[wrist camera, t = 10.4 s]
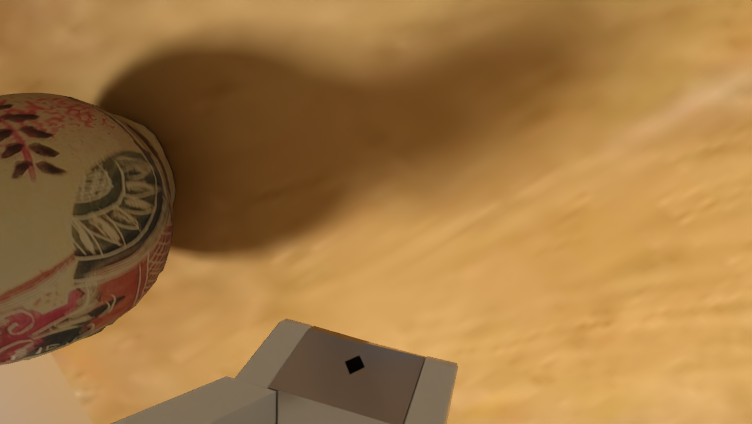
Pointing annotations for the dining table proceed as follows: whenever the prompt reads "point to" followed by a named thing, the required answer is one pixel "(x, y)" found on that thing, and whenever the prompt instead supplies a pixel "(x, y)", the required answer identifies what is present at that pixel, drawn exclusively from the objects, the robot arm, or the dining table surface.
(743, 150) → the dining table surface
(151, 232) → the ceramic jug
